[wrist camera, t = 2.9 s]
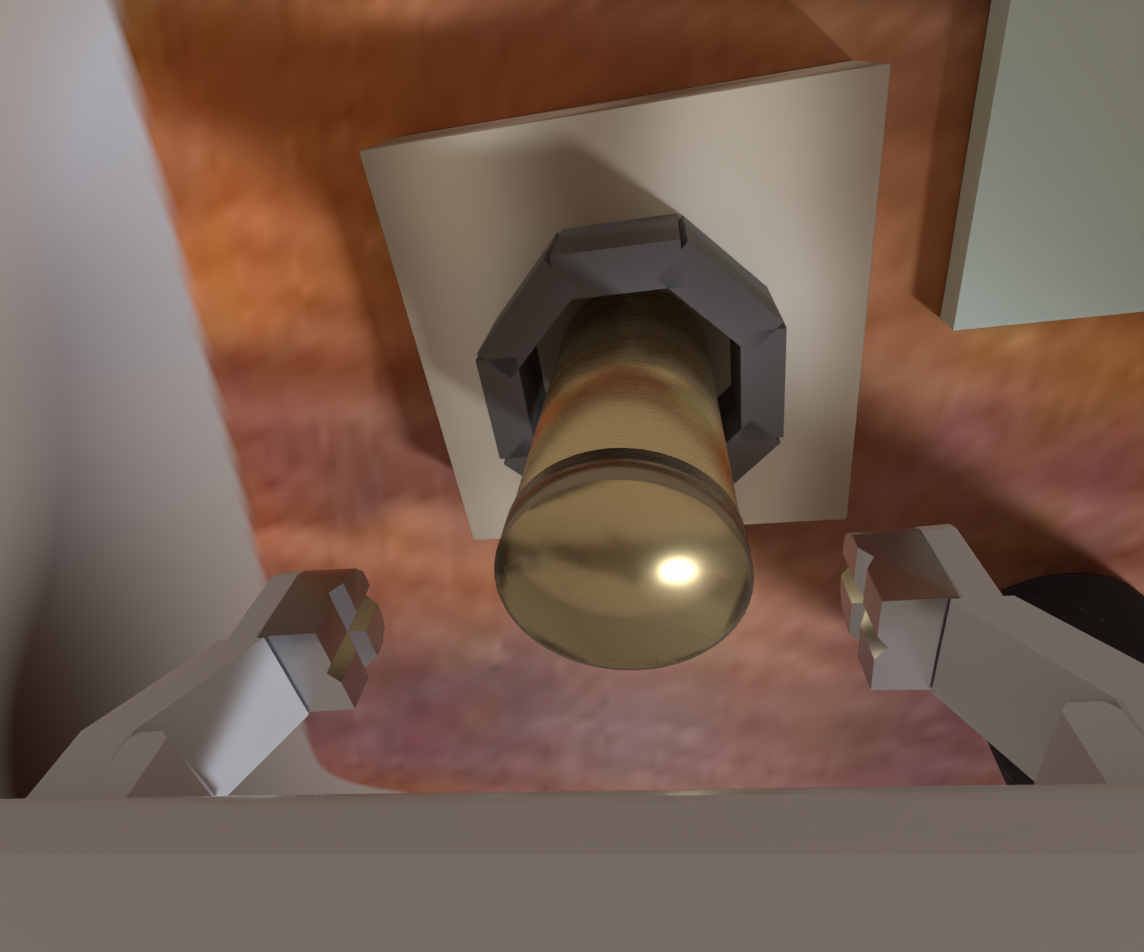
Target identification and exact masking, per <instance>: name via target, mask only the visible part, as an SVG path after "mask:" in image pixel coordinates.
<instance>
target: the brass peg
mask: <svg viewBox="0 0 1144 952" xmlns="http://www.w3.org/2000/svg"><path fill="white" fill-rule="evenodd" d="M494 571H495V581H496V586H497V590H498V593H499V596H500V598H501V601H502V603H503V605H504V607H505V608H506V610H507V612H508V613H509V615H510V616H511V617H512V619H513V620H514V621H515V623H516V624H517V625H518V626H519V627H520V628H521V629H522V630H523V631H524V632H525V633H526V634H527V635H529V636H530V637H531V638H532V639H534V640H535V641H536V642H538V643H539V644H541V645H542V646H544V647H545V648H547V649H549V650H551V651H553V652H555V653H556V654H558V655H560V656H563V657H565V658H568V659H570V660H573V661H576V662H579V663H583V664H586V665H590V666H595V667H600V668H606V669H615V670H646V669H654V668H661V667H666V666H670V665H674V664H678V663H681V662H683V661H686V660H689V659H692V658H694V657H696V656H698V655H700V654H702V653H704V652H706V651H707V650H709V649H711V648H712V647H714V646H715V645H717V644H718V643H719V642H720V641H722V640H723V639H724V638H725V637H726V636H728V635H729V633H730V632H731V631H732V630H733V629H734V628H735V627H736V626H737V624H738V623H739V621H740V620H741V619H742V617H743V616H744V614H745V612H746V609H747V607H748V605H749V603H750V599H751V595H752V592H753V582H754V574H753V564H752V559H751V554H750V549H749V544H748V539H747V534H746V530H745V526H744V523H743V519H742V517H741V515H740V513H739V509H738V504H737V499H736V494H735V488H734V483H733V478H732V473H731V467H730V462H729V457H728V452H727V447H726V441H725V436H724V431H723V426H722V421H721V415H720V410H719V405H718V400H717V394H716V389H715V384H714V379H713V374H712V368H711V363H710V358H709V353H708V348H707V342H706V338H705V334H704V331H703V329H702V327H701V324H700V323H699V321H698V319H697V318H696V316H695V315H694V313H693V312H692V311H691V310H690V309H689V308H688V307H687V306H686V305H685V304H684V303H683V302H682V301H680V300H679V299H677V298H676V297H675V296H673V295H671V294H669V293H667V292H665V291H662V290H659V289H657V290H649V291H640V292H632V293H623V294H615V295H607V296H598V297H594V298H592V299H590V300H589V301H588V302H586V303H585V304H584V305H583V306H582V307H581V308H580V309H579V310H578V311H577V312H576V313H575V315H574V316H573V318H572V319H571V321H570V322H569V324H568V326H567V328H566V331H565V334H564V337H563V340H562V343H561V347H560V350H559V353H558V357H557V360H556V363H555V367H554V370H553V374H552V377H551V380H550V384H549V387H548V390H547V394H546V397H545V400H544V404H543V407H542V411H541V414H540V417H539V421H538V424H537V427H536V431H535V434H534V438H533V441H532V444H531V448H530V451H529V454H528V458H527V461H526V465H525V468H524V471H523V475H522V478H521V481H520V485H519V488H518V491H517V495H516V498H515V500H514V502H513V504H512V506H511V507H510V509H509V512H508V515H507V518H506V521H505V525H504V528H503V531H502V535H501V538H500V541H499V545H498V548H497V551H496V557H495V564H494Z"/></svg>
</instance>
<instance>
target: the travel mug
mask: <svg viewBox="0 0 1144 952" xmlns="http://www.w3.org/2000/svg"><path fill="white" fill-rule="evenodd" d="M1001 594H1002V595H1003V596H1016V597H1018V598H1020V599H1022V600H1023V601H1025V602H1027V603H1029V604H1031V605H1033V606H1035V607H1037V608H1039V609H1041V610H1042V611H1044V612H1046V613H1048V614H1050V615H1052V616H1054V617H1056V618H1058V619H1059V620H1061V621H1063V622H1065V623H1067V624H1069V625H1071V626H1073V627H1075V628H1076V629H1078V630H1080V631H1082V632H1084V633H1086V634H1088V635H1090V636H1092V637H1094V638H1095V639H1097V640H1099V641H1101V642H1103V643H1105V644H1107V645H1109V646H1111V647H1112V648H1114V649H1116V650H1118V651H1120V652H1122V653H1124V654H1126V655H1128V656H1129V657H1131V658H1133V659H1135V660H1137V661H1139V662H1141V663H1143V664H1144V596H1143V595H1142V594H1141V593H1140V592H1138V591H1137V590H1135V589H1134V588H1132V587H1131V586H1129V585H1127V584H1125V583H1123V582H1121V581H1118V580H1115V579H1112V578H1109V577H1104V576H1100V575H1091V574H1062V575H1054V576H1048V577H1043V578H1038V579H1034V580H1030V581H1027V582H1024V583H1021V584H1018V585H1016V586H1013V587H1011V588H1009V589H1006V590H1004V591H1002V592H1001ZM987 742H988V741H987ZM988 744H989V746H990V748H991V751H992V753H993V755H994V757H995V760H996V762H997V764H998V766H999V769H1000V771H1001V773H1002V775H1003V778H1004V780H1005V782H1006V784H1007V785H1034V783H1035V782H1034V781H1033V780H1032V779H1031V778H1030V777H1029V776H1027V775H1026V774H1025V773H1024V772H1023V771H1022V770H1020V769H1019V768H1018V767H1017V766H1016V765H1015V764H1014V763H1012V762H1011V761H1010V760H1009V759H1008V758H1007V757H1005V756H1004V755H1003V754H1002V753H1001V752H1000V751H999V750H997V749H996V748H995V747H994V746H993V745H992V744H990V743H989V742H988Z"/></svg>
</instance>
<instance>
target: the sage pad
mask: <svg viewBox="0 0 1144 952" xmlns="http://www.w3.org/2000/svg"><path fill="white" fill-rule="evenodd" d="M1135 312H1144V0H991V6H990V12H989V18H988V25H987V31H986V37H985V43H984V49H983V56H982V62H981V68H980V74H979V80H978V87H977V93H976V99H975V105H974V111H973V118H972V124H971V130H970V136H969V142H968V149H967V155H966V161H965V167H964V173H963V180H962V186H961V192H960V198H959V204H958V211H957V217H956V223H955V229H954V236H953V242H952V248H951V254H950V260H949V267H948V273H947V279H946V285H945V291H944V298H943V304H942V310H941V316H940V319H941V320H942V321H943V322H944V323H946V324H947V325H948V326H949V327H950V328H951V329H952V330H953V331H955V330H965V329H975V328H985V327H995V326H1005V325H1015V324H1025V323H1035V322H1045V321H1055V320H1065V319H1075V318H1085V317H1095V316H1105V315H1115V314H1125V313H1135Z"/></svg>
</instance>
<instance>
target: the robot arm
mask: <svg viewBox="0 0 1144 952" xmlns="http://www.w3.org/2000/svg"><path fill="white" fill-rule="evenodd" d="M843 555H844V558H845V560H846V563H847V565H848V568H847V569H846V570H845V571H844V572H843V573H842V574H841V586H840V594H841V604H842V611H843V615H844V619H845V622H846V625H847V628H848V631H849V633H850V634H851V635H853V636H854V637H855V638H857V639H858V640H859V646H858V658H859V660H860V663H861V666H862V668H863V671H864V674H865V676H866V679H867V681H868V684H869V687H870V689H871V690H932V691H931V692H932V693H933V694H934V695H935V696H936V697H937V698H939V699H940V700H941V701H942V702H943V703H944V704H946V705H947V706H948V707H949V708H950V709H951V710H952V711H954V712H955V713H956V714H957V715H958V716H959V717H961V718H962V719H963V720H964V721H965V722H966V723H967V724H969V725H970V726H971V727H972V728H973V729H974V730H976V731H977V732H978V733H979V734H980V735H981V736H982V737H984V738H985V739H986V740H987V741H988V742H989V743H990V744H992V745H993V746H994V747H995V748H996V749H997V750H999V751H1000V752H1001V753H1002V754H1003V755H1004V756H1005V757H1007V758H1008V759H1009V760H1010V761H1011V762H1012V763H1014V764H1015V765H1016V766H1017V767H1018V768H1019V769H1020V770H1022V771H1023V772H1024V773H1025V774H1026V775H1027V776H1029V777H1030V778H1031V779H1032V780H1033V781H1034V782H1035V783H1034V785H976V786H901V787H827V788H756V789H686V790H615V791H543V792H471V793H399V794H333V795H332V794H328V795H264V796H263V795H257V796H227V795H228V794H229V793H230V792H231V791H232V790H234V788H235V787H237V786H238V785H239V783H241V781H242V780H243V779H245V777H247V775H249V774H250V773H251V772H252V770H254V768H255V767H256V766H257V765H259V764H260V763H261V761H263V760H264V759H265V758H266V757H267V756H268V755H269V753H271V752H272V751H273V750H274V749H275V748H276V747H277V746H278V745H279V744H280V743H281V742H282V741H283V740H284V739H285V738H286V737H287V736H288V735H289V734H290V733H291V731H293V730H294V729H295V727H297V726H298V725H299V724H300V723H301V722H302V721H303V720H304V719H305V718H306V717H307V716H308V715H309V713H308V712H313V711H328V710H343V709H355V707H356V705H357V703H358V700H359V698H360V696H361V693H362V691H363V689H364V686H365V684H366V682H367V680H368V674H367V672H366V669H365V666H367V665H368V664H369V663H370V662H371V661H373V660H374V659H375V658H376V657H377V656H378V654H379V651H380V649H381V646H382V644H383V636H384V621H383V616H382V612H381V610H380V608H379V605H378V604H377V603H376V602H375V601H373V600H372V599H370V598H369V597H368V596H366V593H367V591H368V589H369V586H370V585H369V583H368V581H367V579H366V577H365V575H364V572H363V571H361V570H358V569H356V568H355V569H334V570H313V571H304V572H282V573H278V574H276V575H274V576H272V577H271V578H270V580H269V581H268V583H267V584H266V586H265V587H264V588H263V590H262V591H261V593H260V594H259V596H258V597H257V598H256V600H255V601H254V603H253V604H252V605H251V607H250V608H249V610H248V611H247V613H246V614H245V615H244V617H243V618H242V620H241V621H240V622H239V624H238V625H237V627H236V628H235V630H234V631H233V632H232V634H231V635H230V637H229V638H228V639H227V640H219V641H217V642H216V643H214V644H213V645H211V646H209V647H208V648H207V649H205V650H203V651H202V652H200V653H199V654H198V655H196V656H194V657H193V658H191V659H190V660H188V661H187V662H185V663H184V664H182V665H181V666H179V667H178V668H176V669H175V670H173V671H172V672H170V673H169V674H167V675H166V676H164V677H163V678H161V679H160V680H158V681H157V682H155V683H154V684H152V685H150V686H149V687H147V688H146V689H144V690H143V691H141V692H140V693H138V694H137V695H135V696H134V697H132V698H131V699H129V700H128V701H127V702H125V703H123V704H122V705H120V706H119V707H118V708H116V709H114V710H113V711H111V712H110V713H108V714H107V715H105V716H104V717H102V718H101V719H99V720H98V721H96V722H95V723H93V724H92V725H90V726H89V727H87V728H85V729H84V730H82V731H81V732H80V733H79V735H78V736H77V737H76V738H75V739H74V741H73V742H72V743H71V744H70V746H69V747H68V748H67V749H66V750H65V752H64V753H63V754H62V755H61V757H60V758H59V759H58V760H57V761H56V763H55V764H54V765H53V766H52V767H51V769H50V770H49V771H48V772H47V774H46V775H45V776H44V777H43V778H42V780H41V781H40V782H39V783H38V784H37V786H36V787H35V788H34V789H33V791H32V792H31V793H30V794H29V795H28V797H27V798H26V799H0V952H1144V664H1143V663H1141V662H1139V661H1137V660H1135V659H1133V658H1131V657H1129V656H1128V655H1126V654H1124V653H1122V652H1120V651H1118V650H1116V649H1114V648H1112V647H1111V646H1109V645H1107V644H1105V643H1103V642H1101V641H1099V640H1097V639H1095V638H1094V637H1092V636H1090V635H1088V634H1086V633H1084V632H1082V631H1080V630H1078V629H1076V628H1075V627H1073V626H1071V625H1069V624H1067V623H1065V622H1063V621H1061V620H1059V619H1058V618H1056V617H1054V616H1052V615H1050V614H1048V613H1046V612H1044V611H1042V610H1041V609H1039V608H1037V607H1035V606H1033V605H1031V604H1029V603H1027V602H1025V601H1023V600H1022V599H1020V598H1018V597H1016V596H1003V595H1002V594H1001V592H1000V591H999V589H998V588H997V586H996V585H995V583H994V582H993V581H992V579H991V578H990V576H989V575H988V573H987V572H986V570H985V569H984V568H983V566H982V565H981V563H980V562H979V560H978V559H977V557H976V556H975V555H974V553H973V552H972V550H971V549H970V547H969V546H968V544H967V543H966V542H965V540H964V539H963V537H962V536H961V534H960V533H959V531H958V530H957V529H956V527H954V526H952V525H951V524H942V525H932V526H921V527H915V528H908V529H895V530H882V531H869V532H856V533H846V536H845V539H844V545H843Z"/></svg>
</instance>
